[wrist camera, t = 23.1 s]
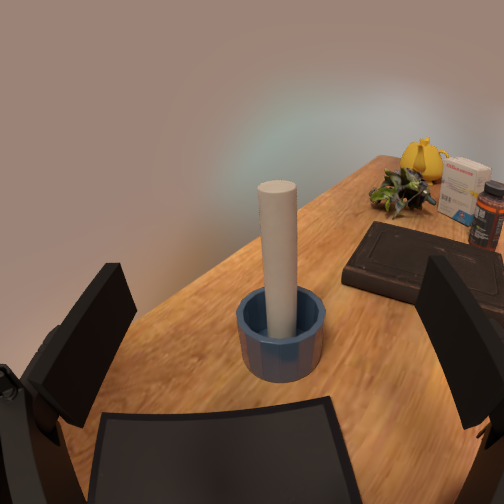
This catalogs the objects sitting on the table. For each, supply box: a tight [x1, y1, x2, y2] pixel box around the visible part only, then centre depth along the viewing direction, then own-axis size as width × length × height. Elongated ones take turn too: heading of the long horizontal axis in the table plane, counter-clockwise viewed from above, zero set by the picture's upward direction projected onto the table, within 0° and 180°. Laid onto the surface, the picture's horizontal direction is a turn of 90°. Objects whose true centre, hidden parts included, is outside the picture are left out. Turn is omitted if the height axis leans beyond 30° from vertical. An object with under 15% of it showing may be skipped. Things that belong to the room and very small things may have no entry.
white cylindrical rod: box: [258, 180, 297, 339], centre depth 24 cm, size 3×3×16 cm
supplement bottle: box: [469, 181, 504, 251], centre depth 38 cm, size 6×6×11 cm
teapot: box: [400, 137, 449, 185], centre depth 68 cm, size 20×15×12 cm
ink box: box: [438, 157, 492, 226], centre depth 48 cm, size 9×8×12 cm
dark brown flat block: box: [341, 221, 504, 329], centre depth 35 cm, size 16×23×2 cm
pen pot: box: [236, 286, 326, 383], centre depth 27 cm, size 8×8×6 cm
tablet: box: [87, 396, 362, 504], centre depth 16 cm, size 20×14×1 cm
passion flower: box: [369, 167, 436, 219], centre depth 51 cm, size 11×11×12 cm
